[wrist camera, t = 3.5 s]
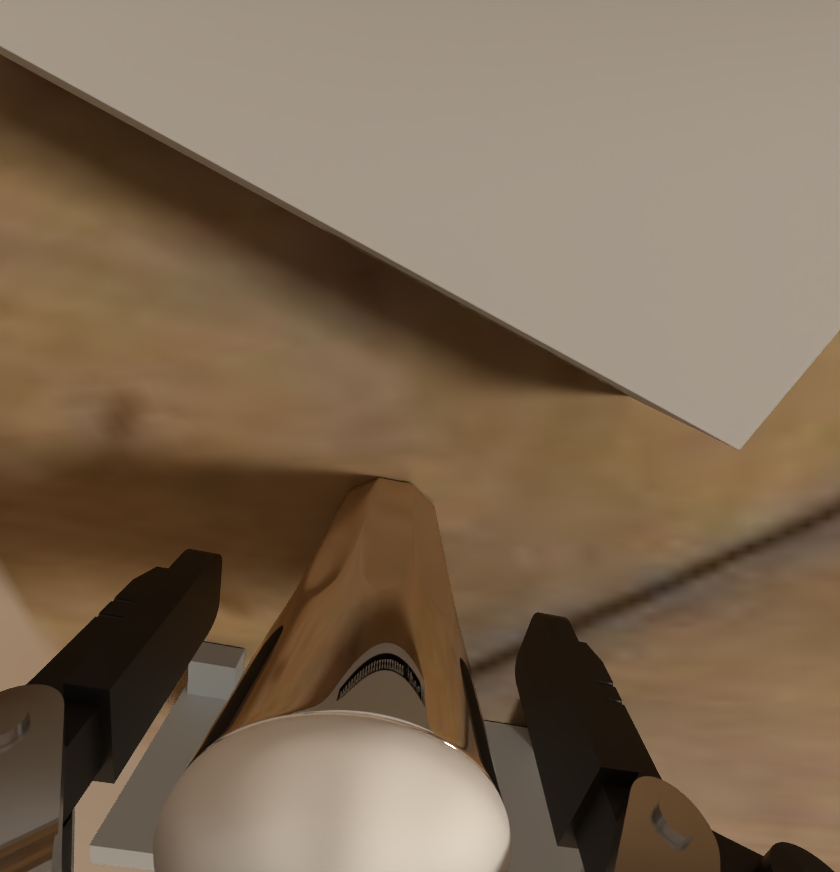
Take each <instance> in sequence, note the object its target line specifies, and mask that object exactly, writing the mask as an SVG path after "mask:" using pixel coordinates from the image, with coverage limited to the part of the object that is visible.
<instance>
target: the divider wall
mask: <svg viewBox="0 0 840 872" xmlns="http://www.w3.org/2000/svg"><path fill="white" fill-rule="evenodd" d="M244 654H245V649H241V648H235V647H230V646H224V645H218V644H212V643H206V642H203V643H202V644H201V646H200V647H199V649H198V650H197V652H196V654H195V655H194V657H193V658H192V660H191V662H190V663H189V665H188V683H187V684H186V686H185V688H184V689H183V691H182V693H181V694H180V696H179V698H178V699H177V701H176V703H175V704H174V706H173V708H172V709H171V711H170V713H169V714H168V716H167V717H166V719H165V721H164V722H163V724H162V726H161V727H160V729H159V731H158V732H157V734H156V736H155V737H154V739H153V741H152V742H151V744H150V746H149V747H148V749H147V751H146V752H145V754H144V756H143V757H142V759H141V760H140V762H139V764H138V765H137V767H136V769H135V770H134V772H133V774H132V776H131V777H130V779H129V781H128V782H127V784H126V785H125V787H124V789H123V790H122V792H121V794H120V795H119V797H118V799H117V800H116V802H115V803H114V805H113V807H112V808H111V810H110V812H109V814H108V815H107V817H106V818H105V820H104V822H103V823H102V825H101V827H100V828H99V830H98V832H97V833H96V835H95V837H94V838H93V840H92V841H91V843H90V845H89V847H90V860H91V863H96V864H104V865H111V866H119V867H126V868H134V869H142V870H149V871H155V870H154V860H153V839H154V833H155V828H156V824H157V821H158V818H159V815H160V812H161V810H162V808H163V805H164V803H165V801H166V799H167V797H168V795H169V793H170V792H171V790H172V788H173V787H174V785H175V784H176V782H177V781H178V779H179V778H180V777H181V775H182V774H183V773H184V771H185V769H186V767H187V766H188V764H189V762H190V761H191V759H192V757H193V756H194V754H195V752H196V751H197V749H198V747H199V746H200V744H201V742H202V741H203V739H204V737H205V736H206V734H207V732H208V731H209V729H210V727H211V726H212V724H213V722H214V721H215V719H216V717H217V716H218V714H219V712H220V711H221V709H222V707H223V706H224V704H225V702H226V701H227V699H228V697H229V696H230V694H231V692H232V691H233V689H234V687H235V686H236V684H237V682H238V681H239V679H240V677H241V676H242V673H243V664H244ZM484 724H485V728H486V732H487V736H488V740H489V744H490V749H491V753H492V757H493V761H494V765H495V769H496V773H497V777H498V781H499V785H500V789H501V793H502V797H503V802H504V807H505V810H506V813H507V816H508V820H509V826H510V837H511V849H510V860H509V868H508V872H580V871H581V869H582V867H583V863H582V860H581V856H580V853H579V849H575V848H568V847H560V846H557V843H556V839H555V835H554V831H553V827H552V823H551V819H550V815H549V811H548V807H547V803H546V799H545V795H544V791H543V787H542V783H541V779H540V775H539V772H538V768H537V764H536V760H535V756H534V752H533V748H532V744H531V740H530V736H529V732H528V728H525V727H519V726H513V725H507V724H501V723H495V722H489V721H484Z"/></svg>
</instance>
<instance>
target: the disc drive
mask: <svg viewBox="0 0 840 872" xmlns="http://www.w3.org/2000/svg"><path fill="white" fill-rule="evenodd" d="M0 54H1V55H2V56H4V57H6V58H8V59H9V60H11V61H13V62H15V63H17V64H19V65H21V66H22V67H24V68H26V69H28V70H30V71H32V72H33V73H35V74H37V75H39V76H41V77H43V78H44V79H46V80H48V81H50V82H52V83H54V84H55V85H57V86H59V87H61V88H63V89H65V90H67V91H68V92H70V93H72V94H74V95H76V96H78V97H79V98H81V99H83V100H85V101H87V102H89V103H90V104H92V105H94V106H96V107H98V108H100V109H101V110H103V111H105V112H107V113H109V114H111V115H113V116H114V117H116V118H118V119H120V120H122V121H124V122H125V123H127V124H129V125H131V126H133V127H135V128H136V129H138V130H140V131H142V132H144V133H146V134H147V135H149V136H151V137H153V138H155V139H157V140H158V141H160V142H162V143H164V144H166V145H168V146H170V147H171V148H173V149H175V150H177V151H179V152H181V153H182V154H184V155H186V156H188V157H190V158H192V159H193V160H195V161H197V162H199V163H201V164H203V165H204V166H206V167H208V168H210V169H212V170H214V171H216V172H217V173H219V174H221V175H223V176H225V177H227V178H228V179H230V180H232V181H234V182H236V183H238V184H239V185H241V186H243V187H245V188H247V189H249V190H250V191H252V192H254V193H256V194H258V195H260V196H261V197H263V198H265V199H267V200H269V201H271V202H273V203H274V204H276V205H278V206H280V207H282V208H284V209H285V210H287V211H289V212H291V213H293V214H295V215H296V216H298V217H300V218H302V219H304V220H306V221H307V222H309V223H311V224H313V225H315V226H317V227H319V228H320V229H322V230H324V231H326V232H328V233H330V234H331V235H333V236H335V237H337V238H339V239H341V240H342V241H344V242H346V243H348V244H350V245H352V246H353V247H355V248H357V249H359V250H361V251H363V252H365V253H366V254H368V255H370V256H372V257H374V258H376V259H377V260H379V261H381V262H383V263H385V264H387V265H388V266H390V267H392V268H394V269H396V270H398V271H399V272H401V273H403V274H405V275H407V276H409V277H410V278H412V279H414V280H416V281H418V282H420V283H422V284H423V285H425V286H427V287H429V288H431V289H433V290H434V291H436V292H438V293H440V294H442V295H444V296H445V297H447V298H449V299H451V300H453V301H455V302H456V303H458V304H460V305H462V306H464V307H466V308H468V309H469V310H471V311H473V312H475V313H477V314H479V315H480V316H482V317H484V318H486V319H488V320H490V321H491V322H493V323H495V324H497V325H499V326H501V327H502V328H504V329H506V330H508V331H510V332H512V333H514V334H515V335H517V336H519V337H521V338H523V339H525V340H526V341H528V342H530V343H532V344H534V345H536V346H537V347H539V348H541V349H543V350H545V351H547V352H548V353H550V354H552V355H554V356H556V357H558V358H559V359H561V360H563V361H565V362H567V363H569V364H571V365H572V366H574V367H576V368H578V369H580V370H582V371H583V372H585V373H587V374H589V375H591V376H593V377H594V378H596V379H598V380H600V381H602V382H604V383H605V384H607V385H609V386H611V387H613V388H615V389H617V390H618V391H620V392H622V393H624V394H626V395H628V396H629V397H632V398H634V399H636V400H638V401H640V402H642V403H644V404H646V405H648V406H650V407H652V408H654V409H656V410H658V411H660V412H662V413H664V414H666V415H668V416H670V417H672V418H674V419H676V420H678V421H681V422H683V423H685V424H687V425H689V426H691V427H693V428H695V429H697V430H699V431H701V432H703V433H705V434H707V435H709V436H711V437H713V438H715V439H717V440H719V441H721V442H723V443H725V444H727V445H730V446H732V447H734V448H736V449H738V450H740V449H741V447H742V446H743V445H744V444H745V443H746V441H747V440H748V439H749V438H750V437H751V435H752V434H753V433H754V432H755V431H756V429H757V428H758V427H759V426H760V425H761V423H762V422H763V421H764V420H765V419H766V417H767V416H768V415H769V414H770V413H771V412H772V410H773V409H774V408H775V407H776V406H777V404H778V403H779V402H780V401H781V400H782V398H783V397H784V396H785V395H786V394H787V392H788V391H789V390H790V389H791V388H792V386H793V385H794V384H795V383H796V382H797V380H798V379H799V378H800V377H801V376H802V374H803V373H804V372H805V371H806V370H807V368H808V367H809V366H810V365H811V364H812V362H813V361H814V360H815V359H816V358H817V356H818V355H819V354H820V353H821V352H822V350H823V349H824V348H825V347H826V346H827V344H828V343H829V342H830V341H831V340H832V338H833V337H834V336H835V335H836V334H837V332H838V331H839V330H840V0H0Z"/></svg>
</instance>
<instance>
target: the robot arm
mask: <svg viewBox="0 0 840 872" xmlns="http://www.w3.org/2000/svg"><path fill="white" fill-rule="evenodd" d="M221 571H222V557H221V555H220V554H215V553H209V552H204V551H198V550H192V549H187V550H186V551H184V552H183V553H182V554H181V555H180V556H179V558H178V559H177V560H176V561H175V562H174V563H173V564H172V565H171V566H170V567H169V568H162V567H155V568H153V569H152V570H150V571H148V572H146V573H144V574H143V575H141V576H139V577H137V578H135V579H133V580H132V581H131V582H130V583H129V584H128V585H127V586H126V587H125V588H124V589H123V590H122V591H121V592H120V593H119V594H118V595H117V596H116V597H115V599H114V601H111V602H110V603H109V604H108V605H107V606H106V607H105V608H104V609H103V610H102V611H101V612H100V613H99V616H98V617H95V618H94V619H93V620H92V621H91V622H90V623H89V624H88V625H87V626H86V627H85V628H83V629H82V630H81V631H80V632H79V633H78V634H77V635H76V636H75V637H74V638H73V639H72V640H71V641H70V642H69V643H68V644H67V645H66V646H65V647H64V648H63V649H62V650H61V651H60V652H59V653H58V654H57V655H56V656H55V657H54V658H53V659H52V660H51V661H50V662H49V663H48V664H47V665H46V666H45V667H44V668H43V669H42V670H41V671H40V672H39V673H38V674H37V675H36V676H35V677H34V678H33V679H32V680H31V681H29V682H28V684H26V685H23V686H18V687H14V688H10V689H7V690H4V691H1V692H0V872H74V823H75V822H74V821H75V809H74V807H75V806H76V804H77V803H78V801H79V800H80V798H81V797H82V795H83V794H84V792H85V791H86V789H87V788H88V786H89V785H90V783H91V782H92V781H99V782H106V783H115V781H116V780H117V778H118V776H119V775H120V773H121V772H122V770H123V768H124V767H125V765H126V764H127V762H128V760H129V759H130V757H131V756H132V754H133V752H134V751H135V749H136V748H137V746H138V745H139V743H140V741H141V740H142V738H143V737H144V735H145V733H146V732H147V730H148V729H149V727H150V725H151V724H152V722H153V721H154V719H155V717H156V716H157V714H158V713H159V711H160V709H161V708H162V706H163V705H164V703H165V701H166V700H167V698H168V697H169V695H170V694H171V692H172V690H173V689H174V687H175V686H176V684H177V682H178V681H179V679H180V678H181V676H182V674H183V673H184V671H185V670H186V668H187V666H188V665H189V663H190V662H191V660H192V658H193V657H194V655H195V654H196V652H197V650H198V649H199V647H200V646H201V644H202V643H203V641H204V639H205V638H206V636H207V635H208V633H209V631H210V629H211V628H212V625H213V623H214V621H215V618H216V615H217V612H218V608H219V600H220V586H221ZM515 678H516V684H517V688H518V692H519V696H520V700H521V704H522V708H523V712H524V716H525V720H526V724H527V728H528V732H529V736H530V740H531V744H532V748H533V752H534V756H535V760H536V764H537V768H538V772H539V775H540V779H541V783H542V787H543V791H544V795H545V799H546V803H547V807H548V811H549V815H550V819H551V823H552V827H553V831H554V835H555V839H556V843H557V846H560V847H568V848H575V849H579V853H580V856H581V860H582V863H583V867H582V869H581V871H580V872H834V871H833V870H832V869H831V868H830V867H828V866H827V865H826V864H825V863H824V862H822V861H821V860H820V859H818V858H817V857H816V856H814V855H813V854H811V853H810V852H808V851H806V850H805V849H803V848H801V847H798V846H796V845H794V844H790V843H786V842H780V843H776V844H775V845H773V846H772V847H771V849H770V850H769V851H768V852H767V853H766V854H765V856H762V855H760V854H758V853H756V852H754V851H752V850H750V849H748V848H746V847H744V846H742V845H740V844H738V843H736V842H734V841H732V840H730V839H728V838H726V837H724V836H722V835H720V834H718V833H716V832H714V831H713V830H711V828H710V826H709V824H708V823H707V821H706V820H705V818H704V817H703V815H702V814H701V813H700V811H699V810H698V809H697V808H696V806H695V805H694V804H693V803H692V802H691V801H690V800H689V799H688V798H687V797H686V796H685V795H684V794H683V793H681V792H680V791H679V790H678V789H677V788H675V787H674V786H672V785H671V784H669V783H667V782H665V781H663V780H662V779H661V777H660V775H659V773H658V771H657V769H656V767H655V765H654V763H653V761H652V759H651V757H650V755H649V753H648V751H647V749H646V747H645V745H644V743H643V741H642V739H641V737H640V735H639V733H638V731H637V729H636V727H635V725H634V723H633V721H632V719H631V718H630V716H629V714H628V712H627V710H626V708H625V706H624V705H622V700H621V698H620V696H619V694H618V692H617V690H616V688H615V687H613V682H612V680H611V678H610V676H609V674H608V672H607V670H606V668H605V666H604V664H603V662H602V661H601V660H600V658H599V657H598V656H597V655H596V654H595V653H594V652H593V650H592V649H591V648H590V647H589V646H588V645H587V644H586V643H584V642H579V641H578V639H577V637H576V634H575V632H574V630H573V628H572V626H571V624H570V622H569V620H568V619H567V618H565V617H561V616H555V615H549V614H544V613H535V614H534V615H533V617H532V619H531V622H530V624H529V627H528V630H527V632H526V635H525V637H524V640H523V642H522V645H521V647H520V650H519V652H518V655H517V659H516V665H515Z"/></svg>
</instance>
